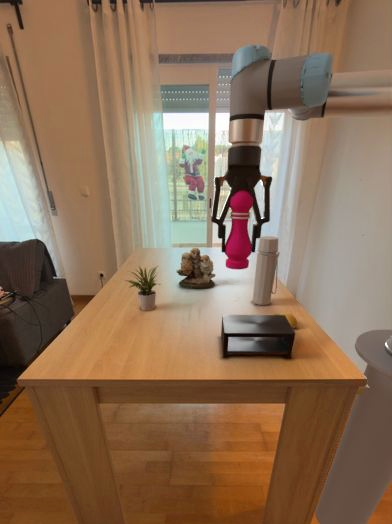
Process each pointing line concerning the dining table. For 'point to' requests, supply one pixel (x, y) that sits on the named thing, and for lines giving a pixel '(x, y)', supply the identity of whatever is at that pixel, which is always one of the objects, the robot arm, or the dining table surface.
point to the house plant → (145, 288)
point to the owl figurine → (196, 270)
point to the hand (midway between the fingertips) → (237, 251)
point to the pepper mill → (239, 231)
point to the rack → (257, 335)
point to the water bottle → (265, 270)
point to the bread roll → (290, 319)
